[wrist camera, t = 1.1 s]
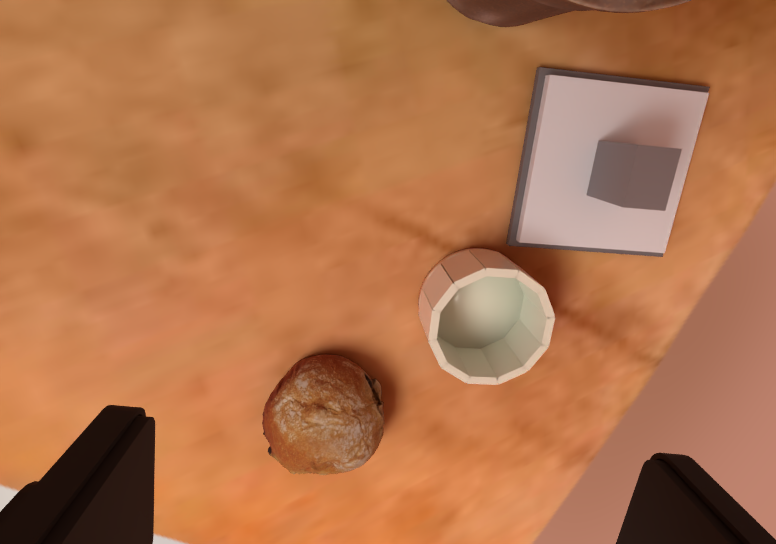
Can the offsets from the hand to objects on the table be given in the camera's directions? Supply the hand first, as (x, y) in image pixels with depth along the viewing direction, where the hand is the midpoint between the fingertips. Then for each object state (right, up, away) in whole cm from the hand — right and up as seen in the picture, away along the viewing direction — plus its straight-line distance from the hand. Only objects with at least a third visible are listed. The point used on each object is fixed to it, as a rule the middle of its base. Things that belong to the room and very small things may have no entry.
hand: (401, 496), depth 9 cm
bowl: (+7, +2, +31) cm, 31 cm away
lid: (+16, +12, +28) cm, 34 cm away
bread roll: (-6, -7, +33) cm, 34 cm away
